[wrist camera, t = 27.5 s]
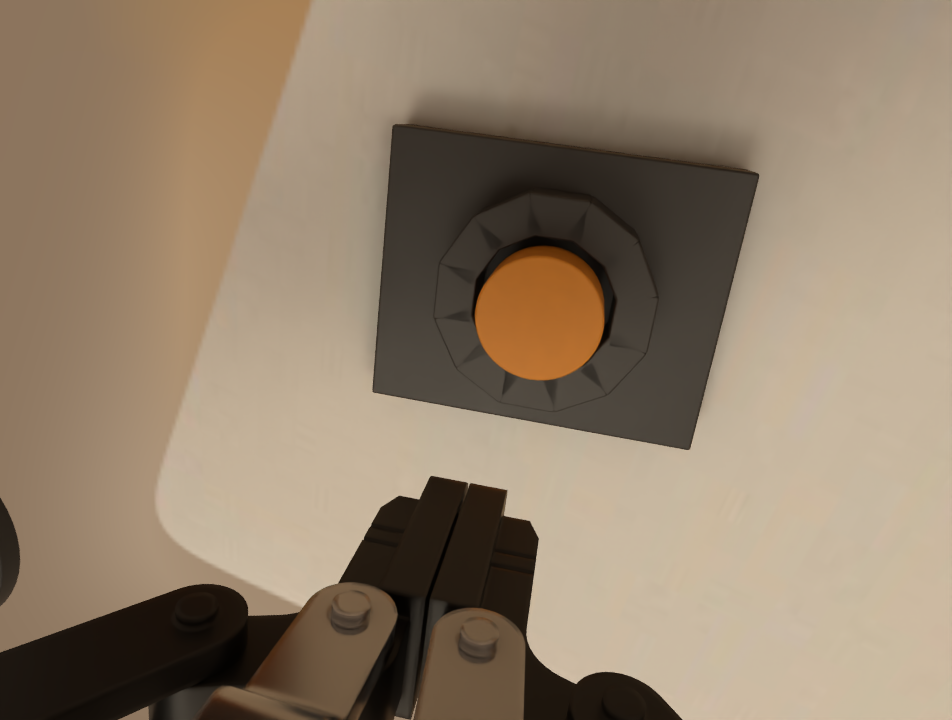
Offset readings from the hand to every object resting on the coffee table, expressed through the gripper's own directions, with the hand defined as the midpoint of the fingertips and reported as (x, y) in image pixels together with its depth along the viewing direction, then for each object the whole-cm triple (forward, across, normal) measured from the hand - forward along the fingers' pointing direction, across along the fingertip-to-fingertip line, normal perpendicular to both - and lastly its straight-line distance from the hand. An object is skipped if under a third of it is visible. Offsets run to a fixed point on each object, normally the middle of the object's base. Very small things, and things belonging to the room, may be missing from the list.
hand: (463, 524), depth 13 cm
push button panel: (+12, -1, -2) cm, 12 cm away
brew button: (+9, -1, -2) cm, 9 cm away
